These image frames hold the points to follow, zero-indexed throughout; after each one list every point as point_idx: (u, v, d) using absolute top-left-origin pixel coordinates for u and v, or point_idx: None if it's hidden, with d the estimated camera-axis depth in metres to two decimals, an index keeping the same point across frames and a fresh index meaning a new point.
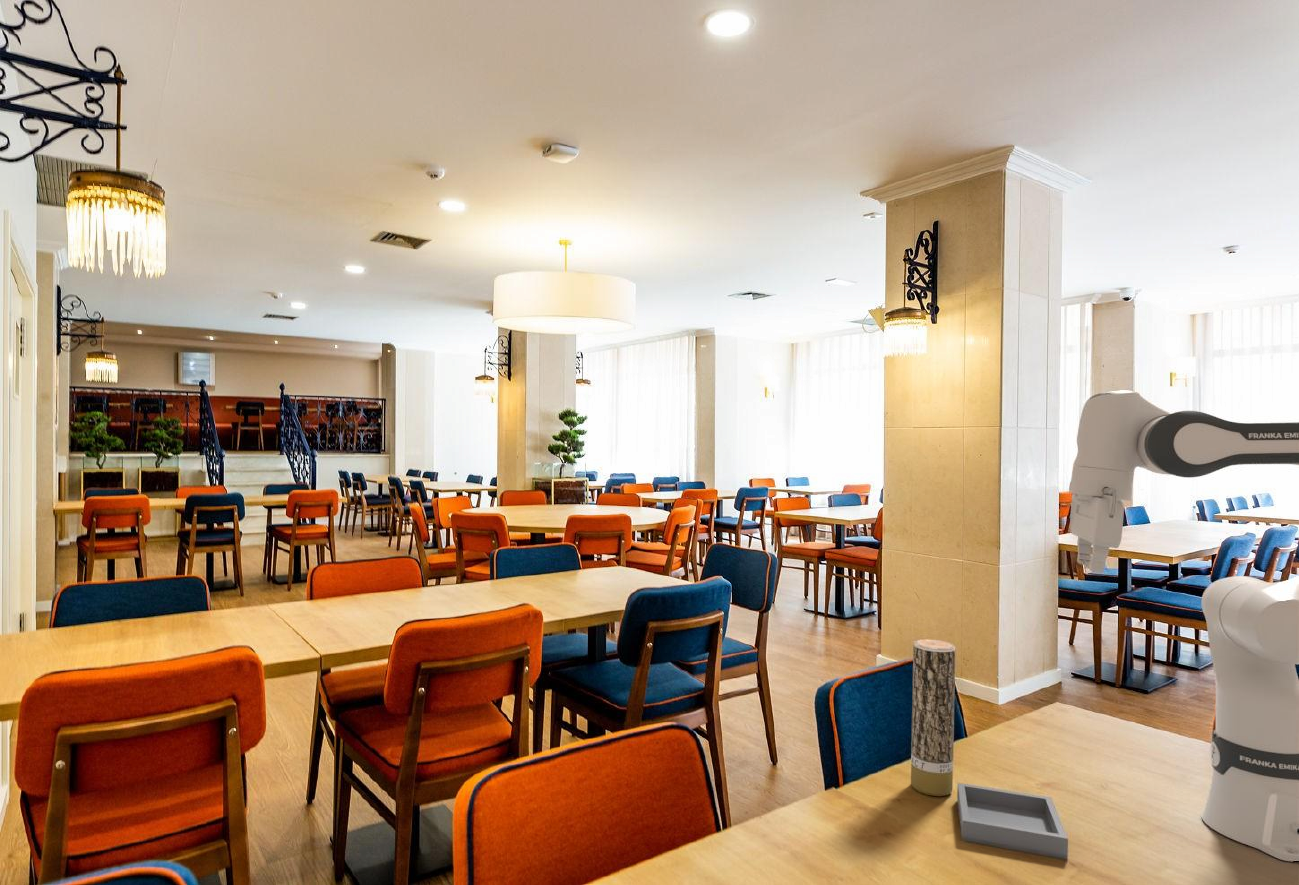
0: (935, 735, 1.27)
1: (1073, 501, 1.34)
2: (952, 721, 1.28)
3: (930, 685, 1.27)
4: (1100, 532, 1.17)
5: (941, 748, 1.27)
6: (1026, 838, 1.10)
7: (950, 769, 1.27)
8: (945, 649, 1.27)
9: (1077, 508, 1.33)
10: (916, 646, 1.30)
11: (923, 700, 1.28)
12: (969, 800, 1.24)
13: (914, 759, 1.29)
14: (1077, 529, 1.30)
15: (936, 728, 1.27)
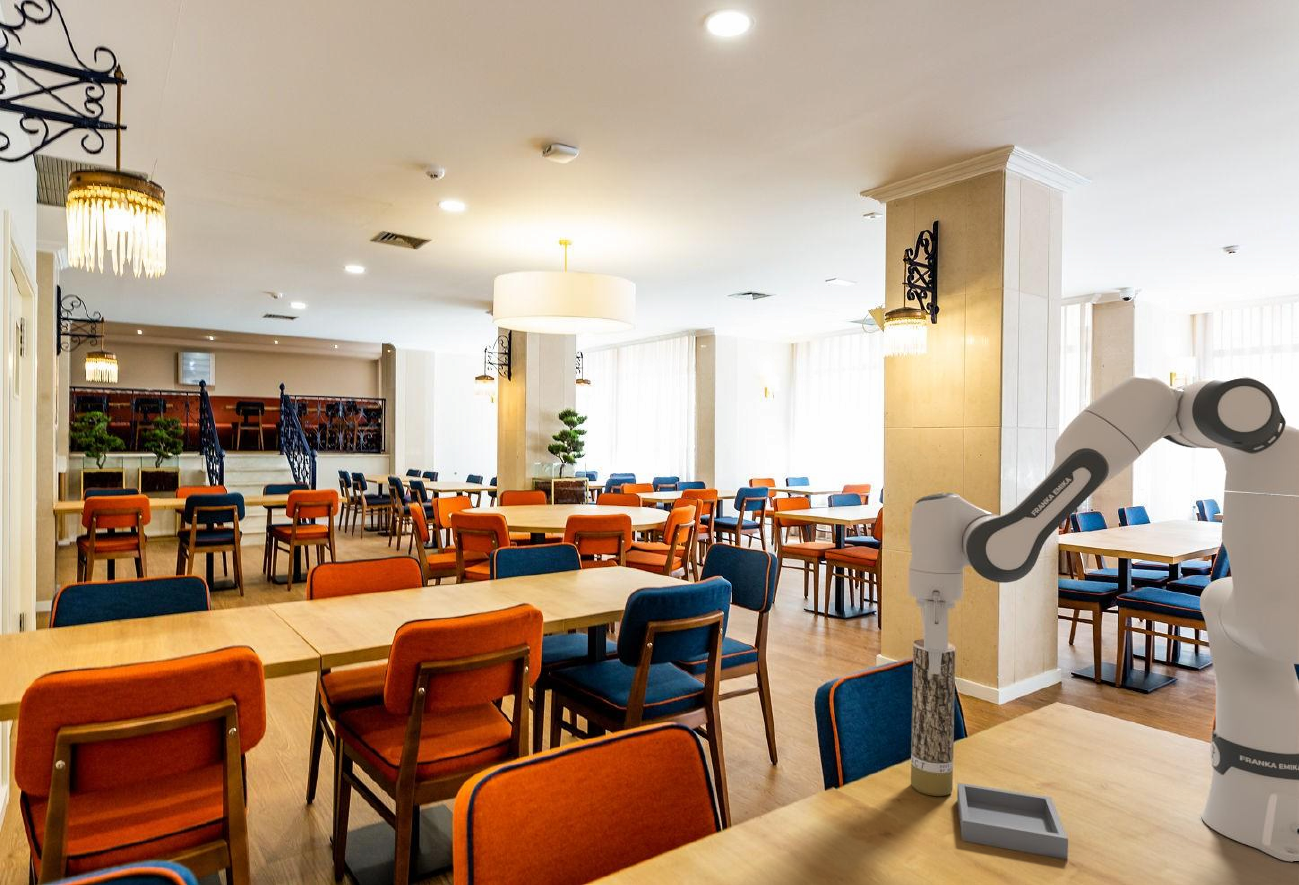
0: (935, 735, 1.27)
1: None
2: (952, 721, 1.28)
3: (930, 685, 1.27)
4: (927, 639, 1.21)
5: (941, 748, 1.27)
6: (1026, 838, 1.10)
7: (950, 768, 1.27)
8: None
9: None
10: (916, 646, 1.30)
11: (923, 700, 1.28)
12: (969, 800, 1.24)
13: (914, 759, 1.29)
14: None
15: (936, 728, 1.27)
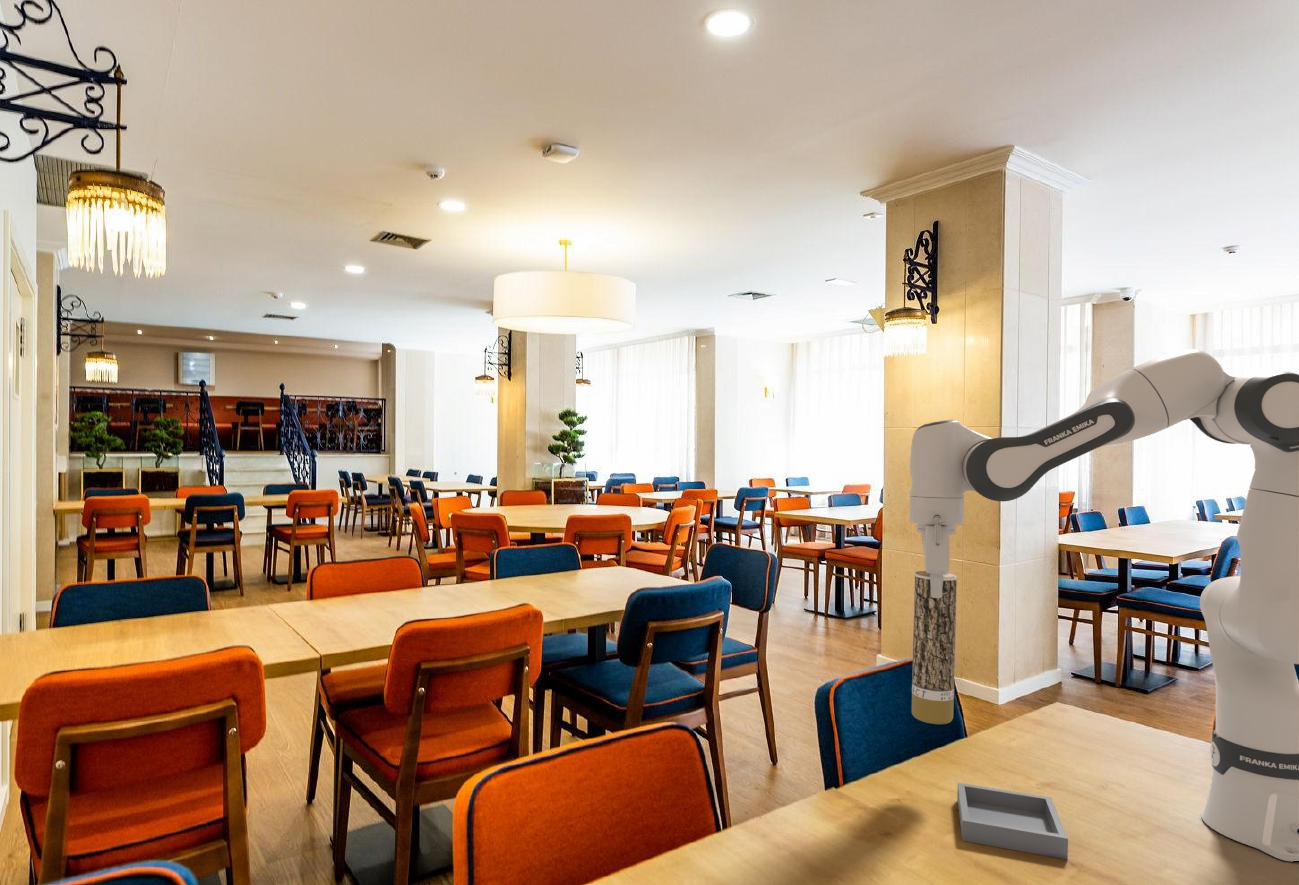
0: (936, 663, 1.27)
1: None
2: (953, 650, 1.28)
3: (932, 613, 1.27)
4: (929, 561, 1.21)
5: (942, 676, 1.27)
6: (1026, 838, 1.10)
7: (951, 697, 1.28)
8: (947, 578, 1.27)
9: (925, 534, 1.38)
10: (918, 576, 1.30)
11: (924, 629, 1.28)
12: (969, 800, 1.24)
13: (915, 688, 1.29)
14: (924, 555, 1.34)
15: (937, 656, 1.27)
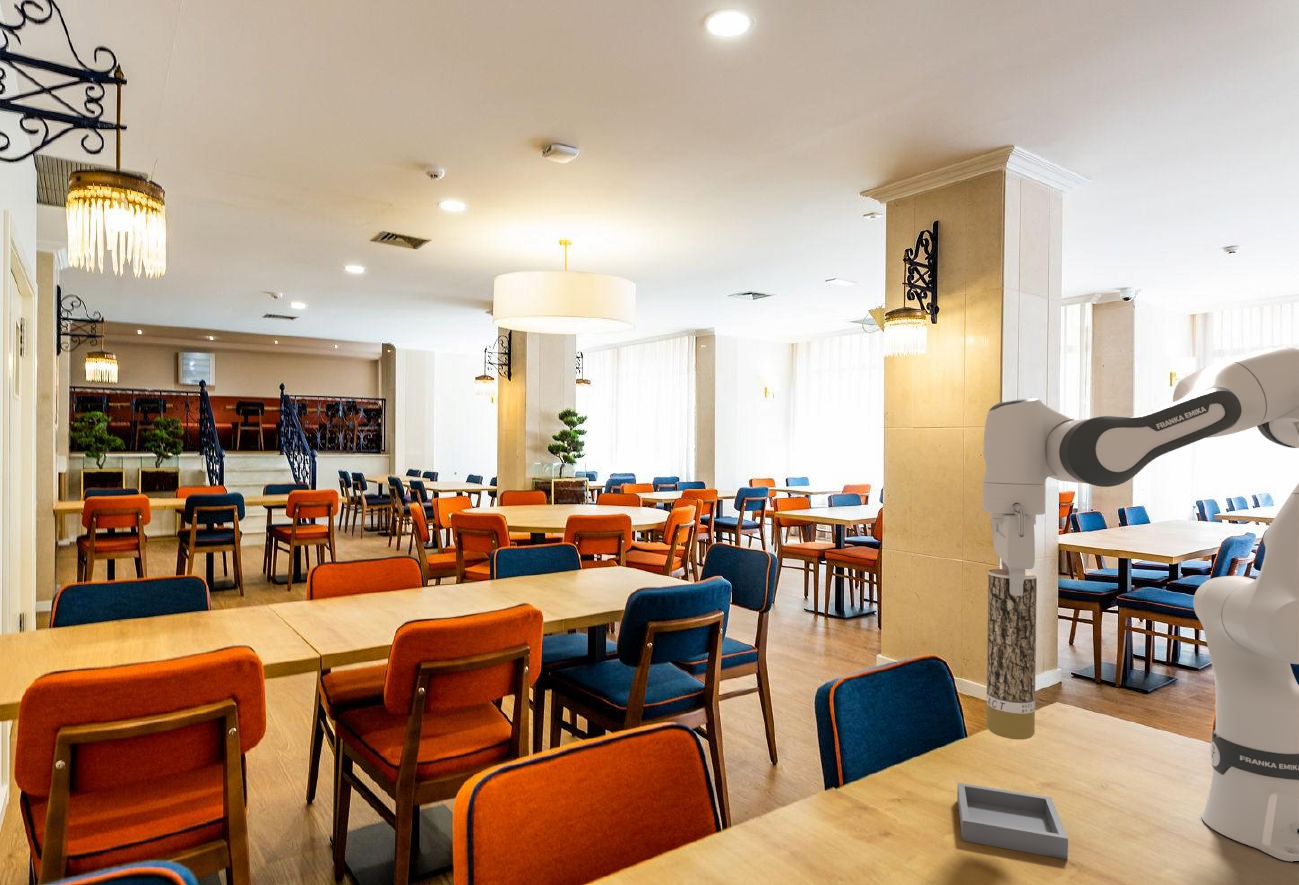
0: (1016, 671, 1.14)
1: None
2: (1034, 656, 1.15)
3: (1010, 616, 1.14)
4: (1011, 554, 1.08)
5: (1023, 686, 1.14)
6: (1026, 838, 1.10)
7: (1033, 709, 1.15)
8: (1027, 576, 1.14)
9: (997, 525, 1.25)
10: (993, 574, 1.17)
11: (1002, 633, 1.15)
12: (969, 800, 1.24)
13: (991, 699, 1.16)
14: (997, 549, 1.22)
15: (1017, 663, 1.14)
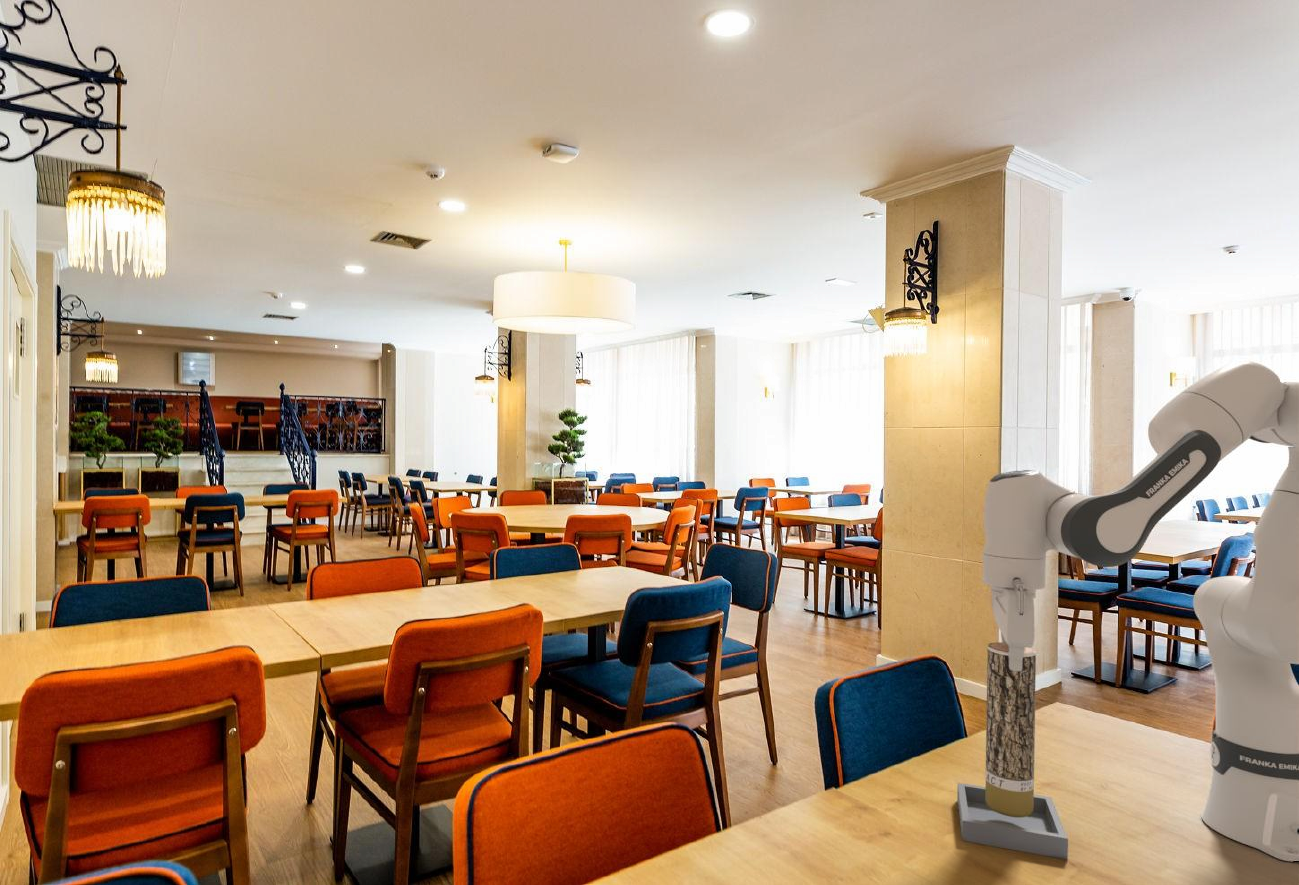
0: (1015, 749, 1.14)
1: None
2: (1033, 733, 1.15)
3: (1009, 693, 1.14)
4: (1011, 632, 1.08)
5: (1022, 764, 1.14)
6: (1026, 838, 1.10)
7: (1032, 786, 1.14)
8: (1026, 654, 1.14)
9: None
10: (992, 650, 1.17)
11: (1001, 710, 1.15)
12: (969, 800, 1.24)
13: (990, 776, 1.16)
14: (997, 618, 1.21)
15: (1016, 741, 1.14)
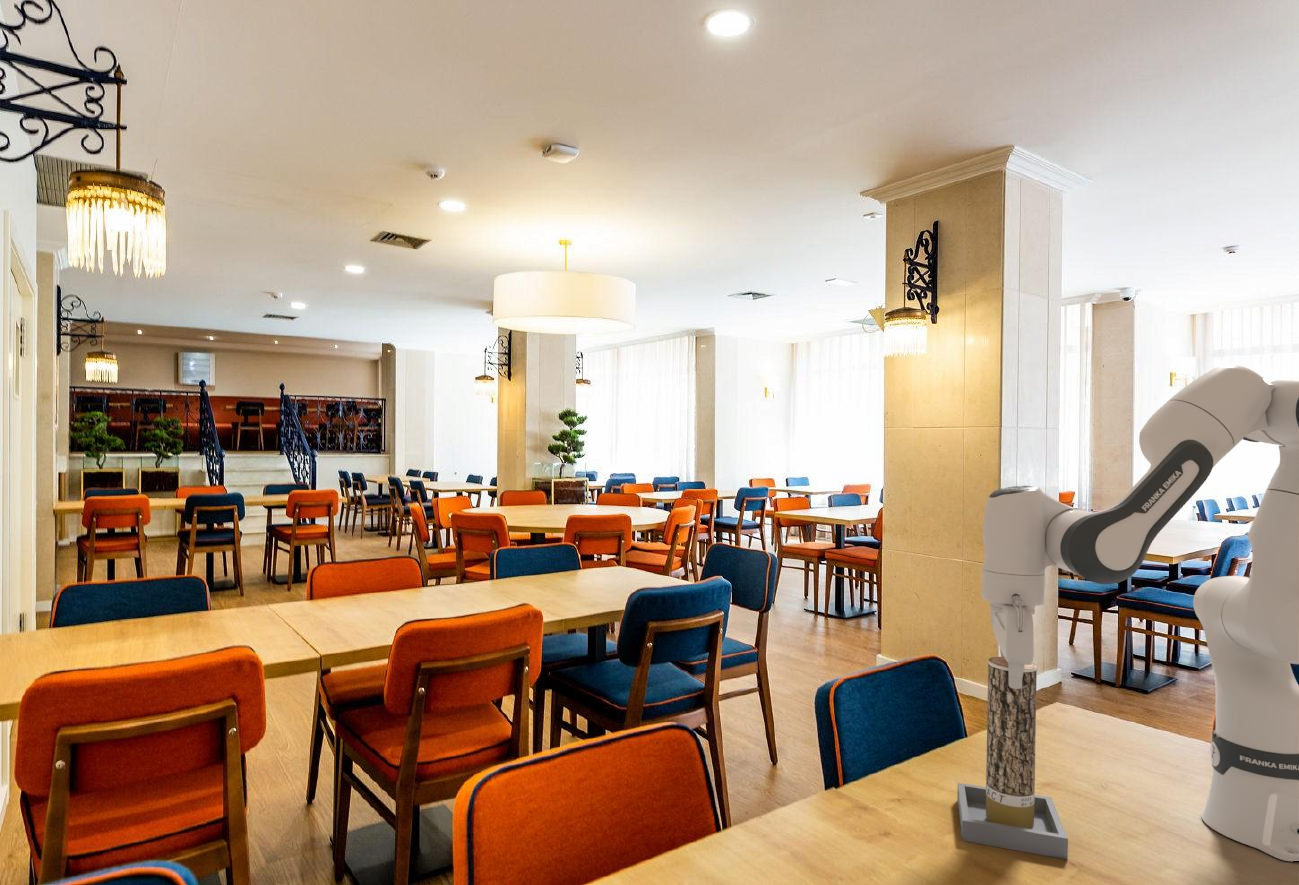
0: (1016, 765, 1.14)
1: None
2: (1034, 749, 1.15)
3: (1010, 709, 1.14)
4: (1010, 649, 1.08)
5: (1022, 779, 1.14)
6: (1026, 838, 1.10)
7: (1032, 802, 1.14)
8: (1027, 669, 1.14)
9: None
10: (992, 665, 1.17)
11: (1002, 726, 1.15)
12: (969, 800, 1.24)
13: (990, 791, 1.16)
14: (996, 634, 1.21)
15: (1017, 757, 1.14)
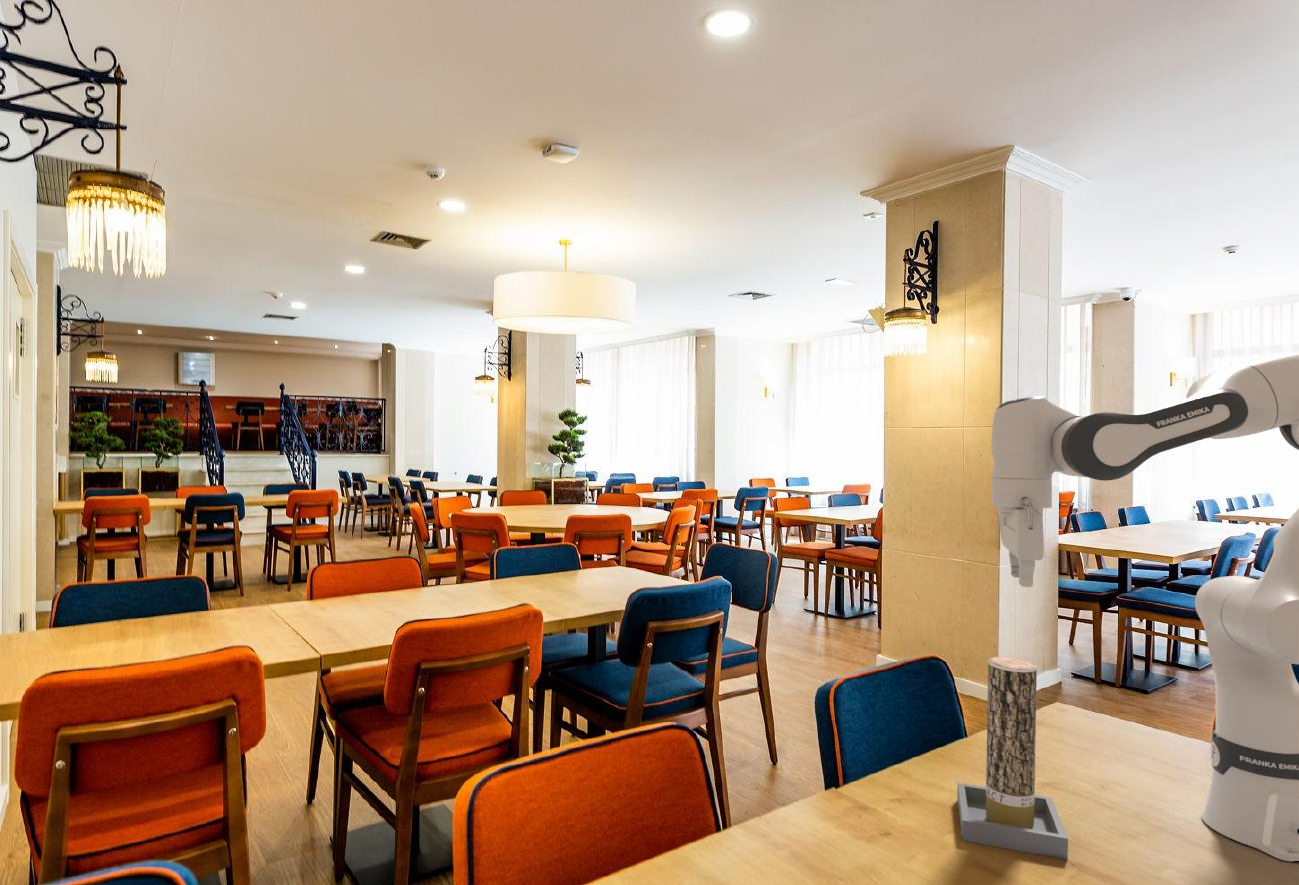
0: (1016, 765, 1.14)
1: (1000, 512, 1.30)
2: (1034, 749, 1.15)
3: (1010, 709, 1.14)
4: (1021, 546, 1.13)
5: (1022, 779, 1.14)
6: (1026, 838, 1.10)
7: (1032, 802, 1.14)
8: (1027, 669, 1.14)
9: (1004, 519, 1.29)
10: (992, 665, 1.17)
11: (1002, 725, 1.15)
12: (969, 800, 1.24)
13: (990, 791, 1.16)
14: (1006, 541, 1.26)
15: (1017, 757, 1.14)
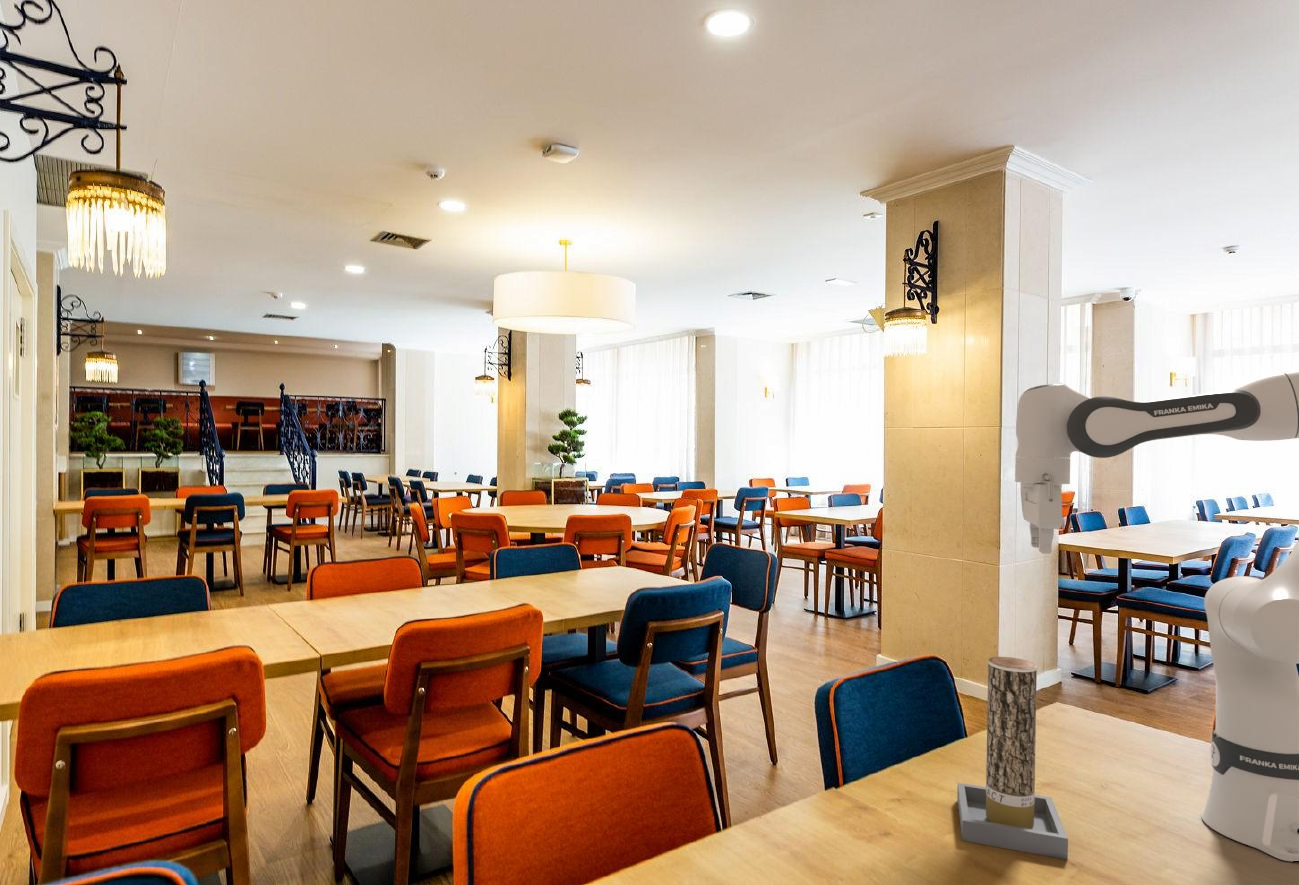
0: (1016, 765, 1.14)
1: (1022, 489, 1.44)
2: (1034, 749, 1.15)
3: (1010, 709, 1.14)
4: (1042, 516, 1.27)
5: (1022, 779, 1.14)
6: (1026, 838, 1.10)
7: (1032, 802, 1.14)
8: (1027, 669, 1.14)
9: (1026, 495, 1.43)
10: (992, 665, 1.17)
11: (1002, 725, 1.15)
12: (969, 800, 1.24)
13: (990, 791, 1.16)
14: (1027, 515, 1.40)
15: (1017, 757, 1.14)
